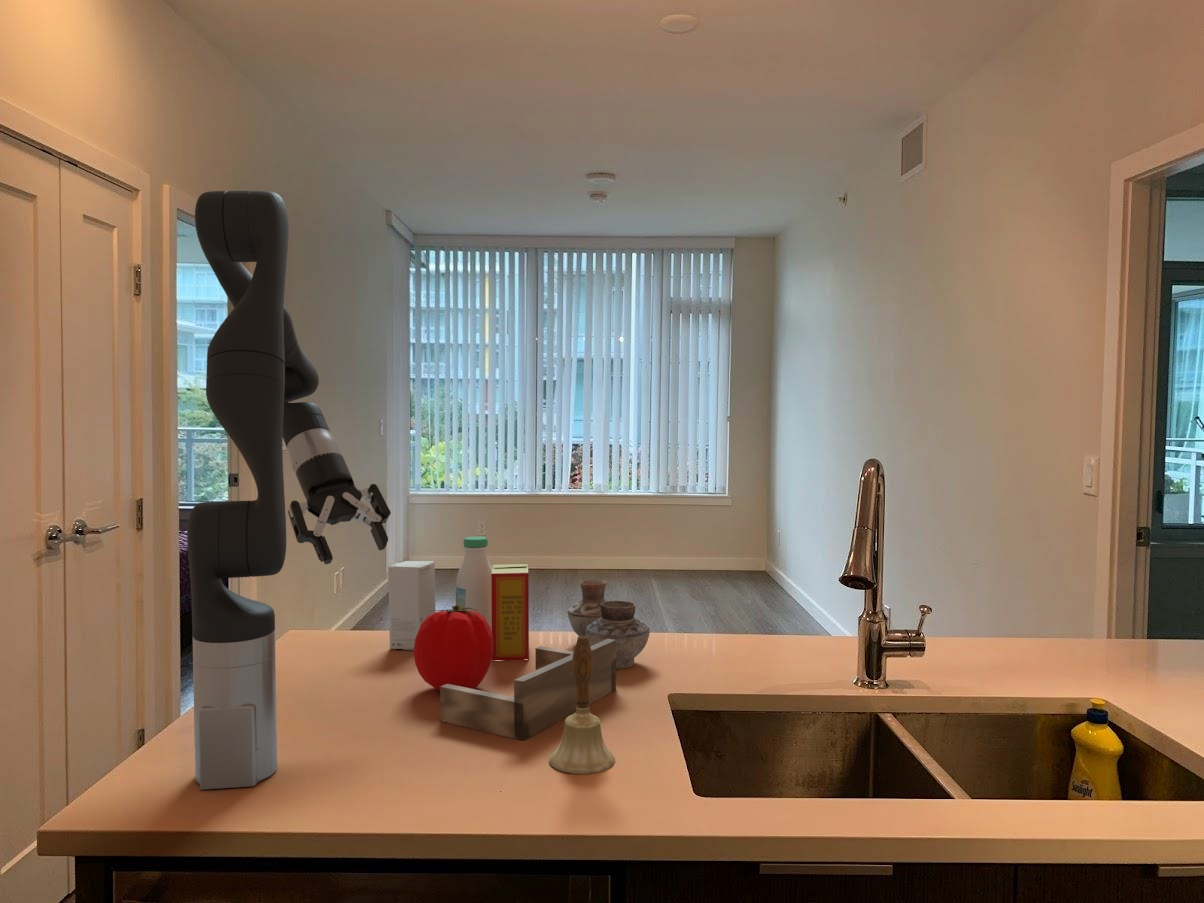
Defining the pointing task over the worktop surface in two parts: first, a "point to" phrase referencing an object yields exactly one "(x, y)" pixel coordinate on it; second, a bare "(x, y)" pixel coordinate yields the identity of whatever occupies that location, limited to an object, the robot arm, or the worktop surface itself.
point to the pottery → (608, 622)
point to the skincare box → (409, 600)
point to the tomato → (453, 648)
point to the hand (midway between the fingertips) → (357, 554)
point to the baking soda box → (510, 611)
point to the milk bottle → (475, 579)
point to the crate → (531, 695)
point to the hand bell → (582, 724)
